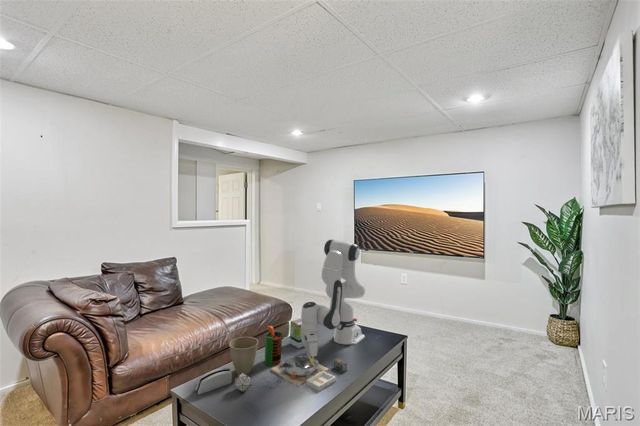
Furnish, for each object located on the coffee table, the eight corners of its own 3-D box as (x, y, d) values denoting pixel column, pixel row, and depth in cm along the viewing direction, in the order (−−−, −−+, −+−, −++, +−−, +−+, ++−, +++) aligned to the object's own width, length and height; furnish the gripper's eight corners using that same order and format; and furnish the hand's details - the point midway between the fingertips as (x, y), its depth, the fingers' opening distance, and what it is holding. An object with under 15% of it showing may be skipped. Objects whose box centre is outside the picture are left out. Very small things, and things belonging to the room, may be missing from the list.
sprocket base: (300, 357, 192) (300, 355, 192) (328, 370, 177) (328, 368, 177) (270, 370, 176) (270, 368, 176) (299, 386, 161) (299, 384, 161)
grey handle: (227, 378, 168) (230, 362, 165) (231, 385, 164) (234, 369, 162) (194, 390, 157) (197, 373, 154) (197, 397, 154) (200, 380, 151)
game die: (246, 397, 158) (258, 383, 156) (231, 398, 152) (243, 383, 150) (241, 381, 164) (252, 367, 162) (226, 380, 158) (238, 366, 157)
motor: (277, 367, 180) (277, 331, 179) (261, 365, 182) (262, 329, 181) (283, 358, 190) (283, 324, 189) (268, 357, 192) (268, 323, 191)
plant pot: (222, 375, 171) (223, 344, 170) (241, 363, 184) (241, 334, 184) (245, 382, 164) (246, 350, 164) (263, 369, 177) (263, 340, 177)
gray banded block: (338, 365, 183) (338, 357, 183) (347, 370, 178) (347, 362, 178) (333, 367, 181) (333, 359, 181) (342, 372, 176) (342, 364, 175)
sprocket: (324, 362, 184) (324, 349, 183) (312, 381, 163) (312, 367, 163) (288, 356, 190) (289, 344, 189) (273, 374, 169) (273, 361, 169)
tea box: (299, 348, 203) (299, 325, 203) (289, 343, 211) (289, 320, 210) (317, 342, 213) (317, 319, 213) (307, 337, 221) (308, 315, 220)
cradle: (323, 375, 172) (323, 370, 172) (335, 381, 166) (335, 376, 166) (306, 384, 163) (306, 379, 163) (318, 391, 157) (318, 386, 157)
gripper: (299, 326, 190) (298, 349, 191) (308, 340, 171) (307, 366, 171) (309, 325, 192) (309, 348, 193) (319, 339, 173) (319, 365, 173)
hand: (308, 357), depth 182 cm, fingers closed
